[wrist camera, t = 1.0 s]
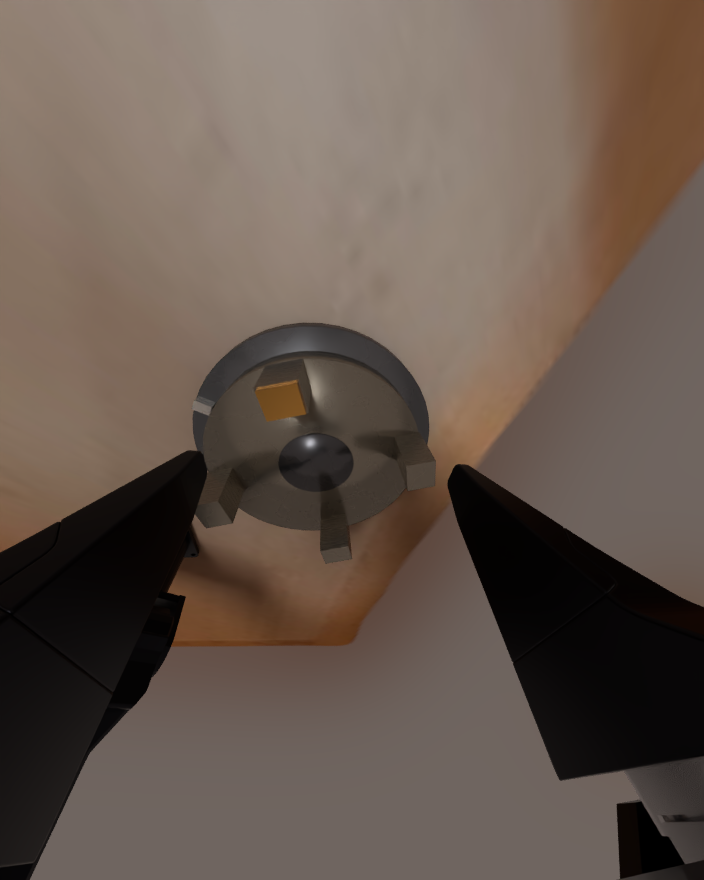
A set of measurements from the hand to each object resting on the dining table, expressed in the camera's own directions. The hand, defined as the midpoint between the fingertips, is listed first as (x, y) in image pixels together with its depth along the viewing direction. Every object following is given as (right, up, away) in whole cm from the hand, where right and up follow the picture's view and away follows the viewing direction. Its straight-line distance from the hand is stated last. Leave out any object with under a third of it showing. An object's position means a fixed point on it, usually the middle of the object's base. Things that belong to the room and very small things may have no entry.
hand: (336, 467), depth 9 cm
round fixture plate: (-3, 0, +14) cm, 14 cm away
